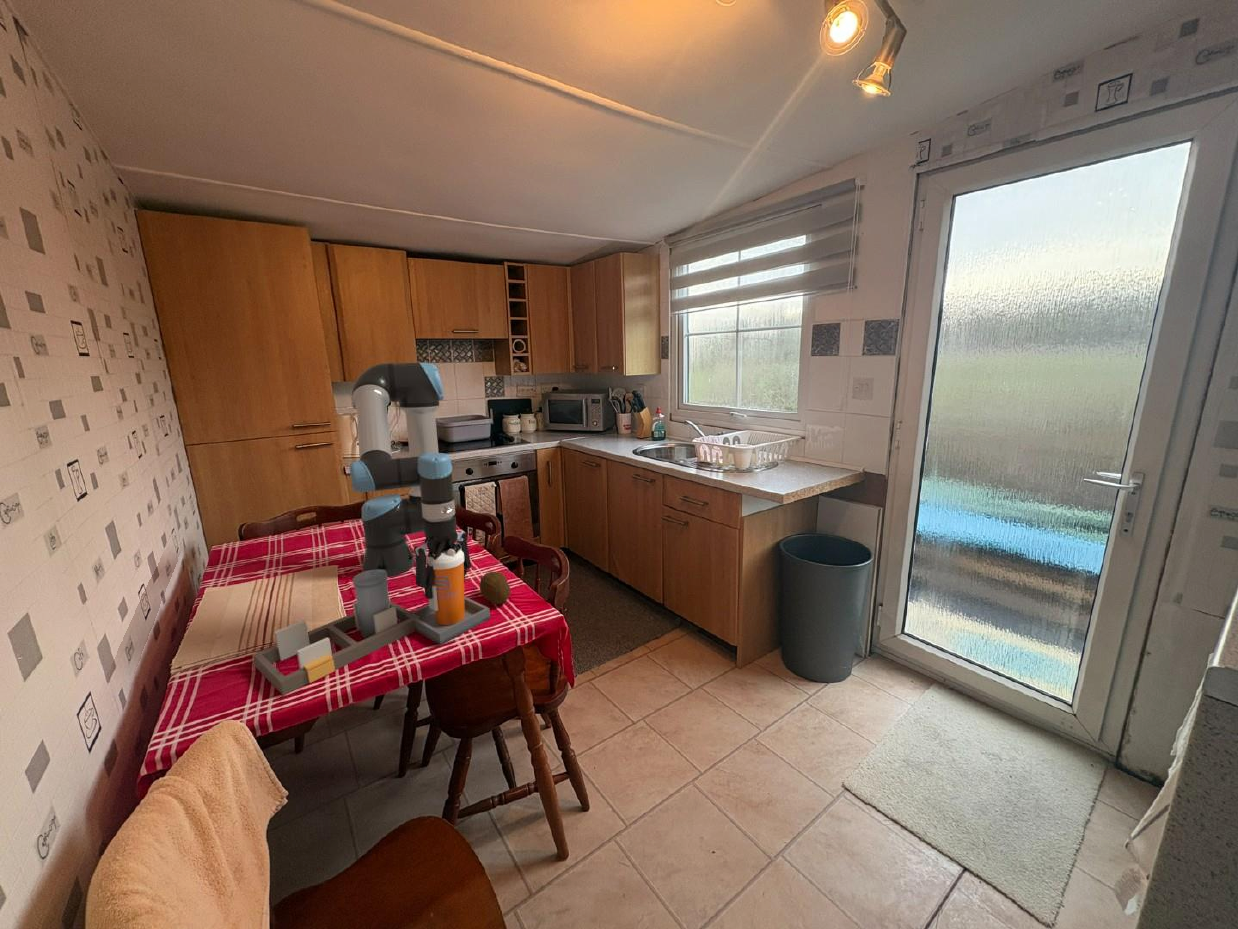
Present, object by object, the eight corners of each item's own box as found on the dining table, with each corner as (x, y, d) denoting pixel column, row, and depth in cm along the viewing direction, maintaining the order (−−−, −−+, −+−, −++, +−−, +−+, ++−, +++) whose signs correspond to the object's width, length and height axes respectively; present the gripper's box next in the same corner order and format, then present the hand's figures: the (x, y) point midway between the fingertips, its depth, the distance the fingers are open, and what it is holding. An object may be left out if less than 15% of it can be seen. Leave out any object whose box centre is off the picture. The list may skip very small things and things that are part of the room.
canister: (354, 632, 119) (347, 577, 115) (383, 619, 125) (377, 567, 121) (369, 643, 114) (362, 586, 111) (399, 629, 120) (392, 574, 117)
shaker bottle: (437, 610, 128) (431, 539, 123) (471, 608, 128) (466, 538, 124) (427, 628, 119) (420, 553, 114) (464, 627, 120) (458, 552, 115)
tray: (406, 625, 122) (405, 614, 121) (456, 602, 133) (455, 592, 133) (440, 645, 113) (439, 634, 113) (490, 618, 125) (489, 608, 124)
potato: (492, 612, 128) (491, 586, 126) (471, 595, 137) (469, 570, 135) (519, 602, 133) (518, 576, 132) (497, 586, 142) (496, 562, 140)
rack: (255, 666, 106) (249, 638, 104) (388, 609, 130) (385, 585, 128) (284, 696, 96) (278, 666, 95) (422, 628, 120) (419, 603, 119)
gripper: (409, 532, 107) (419, 624, 112) (482, 509, 123) (488, 591, 128) (392, 525, 111) (402, 614, 116) (464, 504, 127) (470, 584, 132)
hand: (447, 602), depth 122 cm, fingers open, 7 cm apart
